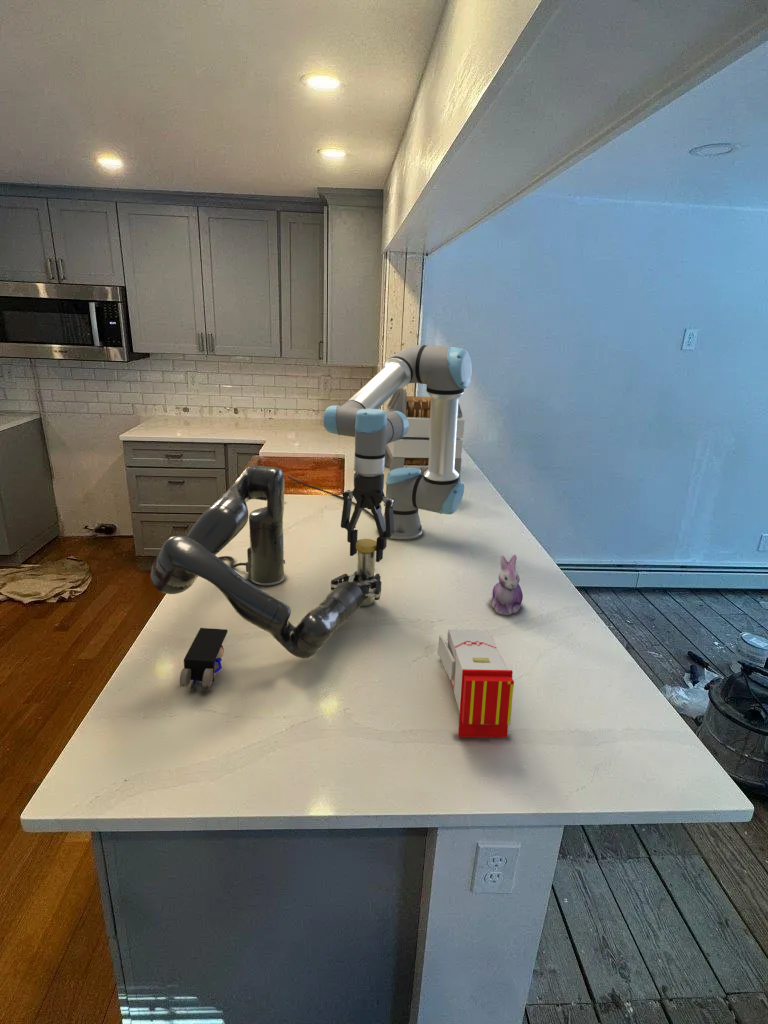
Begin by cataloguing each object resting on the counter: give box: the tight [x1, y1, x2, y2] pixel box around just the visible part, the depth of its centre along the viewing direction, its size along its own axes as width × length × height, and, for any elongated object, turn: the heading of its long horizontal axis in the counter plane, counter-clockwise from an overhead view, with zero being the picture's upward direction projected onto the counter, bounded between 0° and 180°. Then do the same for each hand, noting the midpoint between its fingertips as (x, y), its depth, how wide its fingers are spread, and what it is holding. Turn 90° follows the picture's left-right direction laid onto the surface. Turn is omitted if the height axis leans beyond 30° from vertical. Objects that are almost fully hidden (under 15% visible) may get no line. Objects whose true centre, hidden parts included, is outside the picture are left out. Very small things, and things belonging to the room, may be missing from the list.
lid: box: [356, 538, 377, 553], centre depth 147 cm, size 6×6×2 cm
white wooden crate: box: [384, 387, 465, 480], centre depth 268 cm, size 34×33×41 cm
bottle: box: [356, 550, 376, 607], centre depth 150 cm, size 4×4×17 cm
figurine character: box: [178, 627, 228, 692], centre depth 119 cm, size 7×8×15 cm
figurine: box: [491, 554, 524, 616], centre depth 150 cm, size 9×10×15 cm
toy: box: [437, 628, 515, 738], centre depth 117 cm, size 12×13×30 cm
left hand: (369, 575), depth 153 cm, fingers closed on bottle, 4 cm apart
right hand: (366, 556), depth 148 cm, fingers open, 7 cm apart
